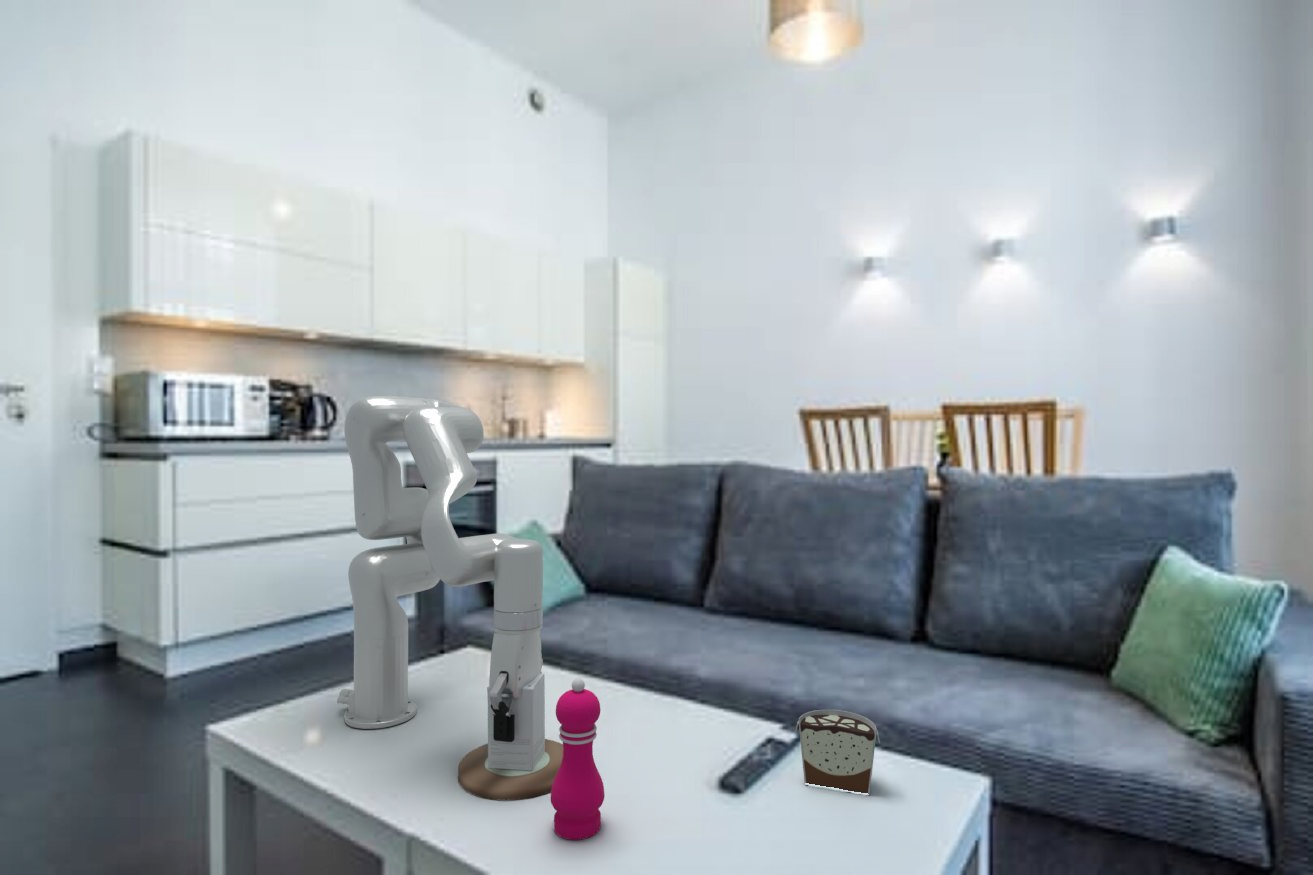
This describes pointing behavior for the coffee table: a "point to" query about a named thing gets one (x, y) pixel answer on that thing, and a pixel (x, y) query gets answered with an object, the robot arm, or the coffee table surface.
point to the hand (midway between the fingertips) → (517, 727)
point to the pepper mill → (577, 766)
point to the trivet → (509, 775)
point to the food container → (837, 749)
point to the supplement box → (521, 730)
